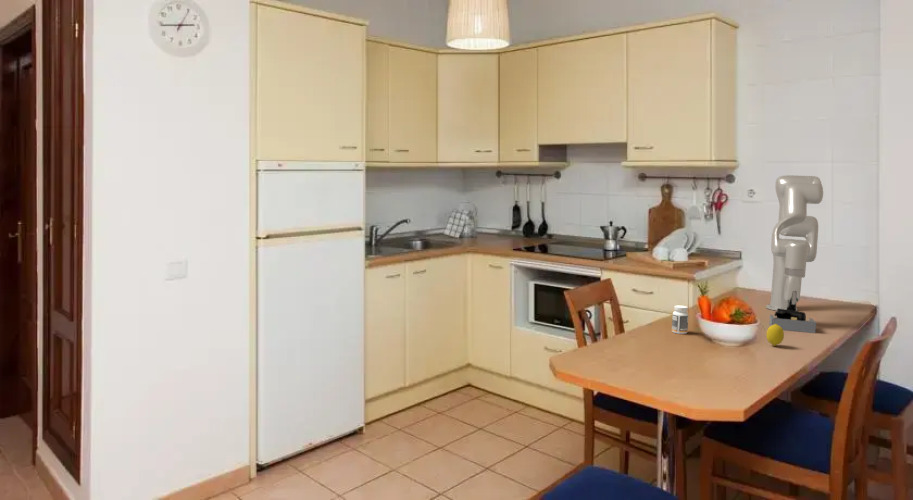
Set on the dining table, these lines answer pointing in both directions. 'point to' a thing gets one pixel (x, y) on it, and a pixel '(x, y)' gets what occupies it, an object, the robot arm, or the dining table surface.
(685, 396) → the dining table surface
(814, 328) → the steel cradle
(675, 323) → the pill bottle
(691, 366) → the dining table surface
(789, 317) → the end cap
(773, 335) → the lemon
